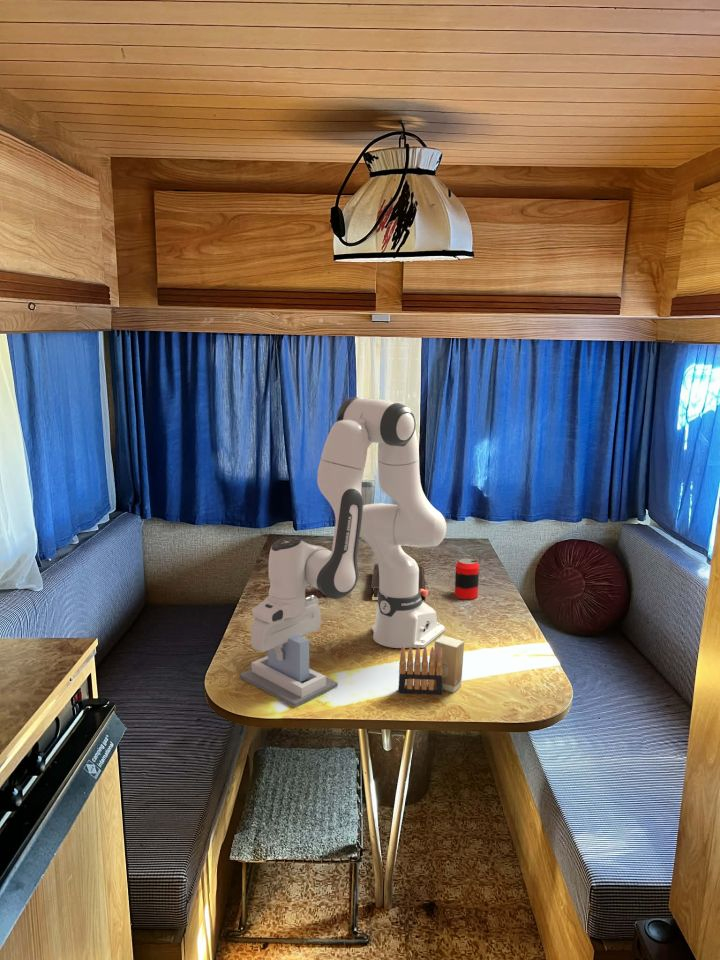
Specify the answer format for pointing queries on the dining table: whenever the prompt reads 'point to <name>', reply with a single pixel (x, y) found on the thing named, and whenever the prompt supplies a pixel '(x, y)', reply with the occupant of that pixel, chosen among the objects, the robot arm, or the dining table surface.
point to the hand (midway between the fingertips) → (287, 656)
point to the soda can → (466, 579)
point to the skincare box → (450, 662)
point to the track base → (287, 683)
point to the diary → (376, 579)
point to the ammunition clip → (420, 673)
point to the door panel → (292, 658)
